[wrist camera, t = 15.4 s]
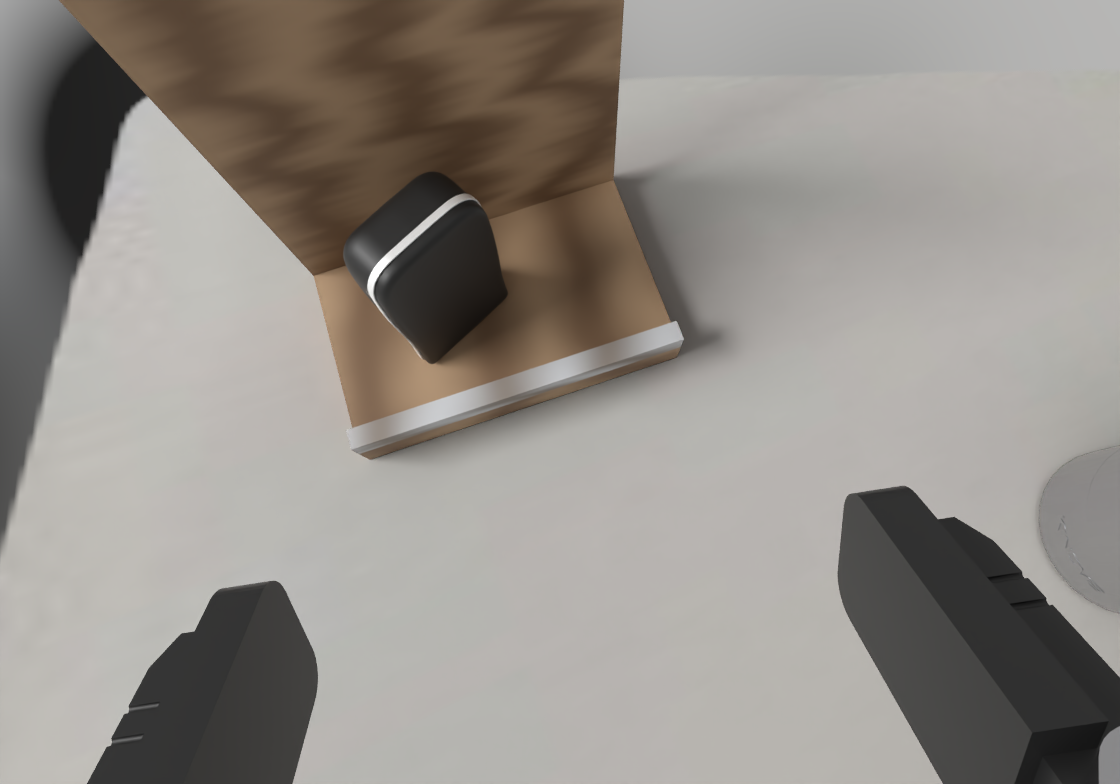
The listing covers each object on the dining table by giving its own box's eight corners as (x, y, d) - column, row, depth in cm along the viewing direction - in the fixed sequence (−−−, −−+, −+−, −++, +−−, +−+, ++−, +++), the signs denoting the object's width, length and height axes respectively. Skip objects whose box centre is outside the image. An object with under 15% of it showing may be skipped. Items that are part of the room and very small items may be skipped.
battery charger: (472, 254, 43) (431, 143, 32) (514, 293, 42) (486, 193, 31) (389, 329, 42) (317, 241, 31) (430, 371, 41) (371, 296, 30)
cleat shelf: (604, 176, 46) (618, -227, 23) (676, 357, 42) (780, 97, 19) (320, 267, 45) (36, -56, 22) (369, 459, 42) (94, 315, 18)
